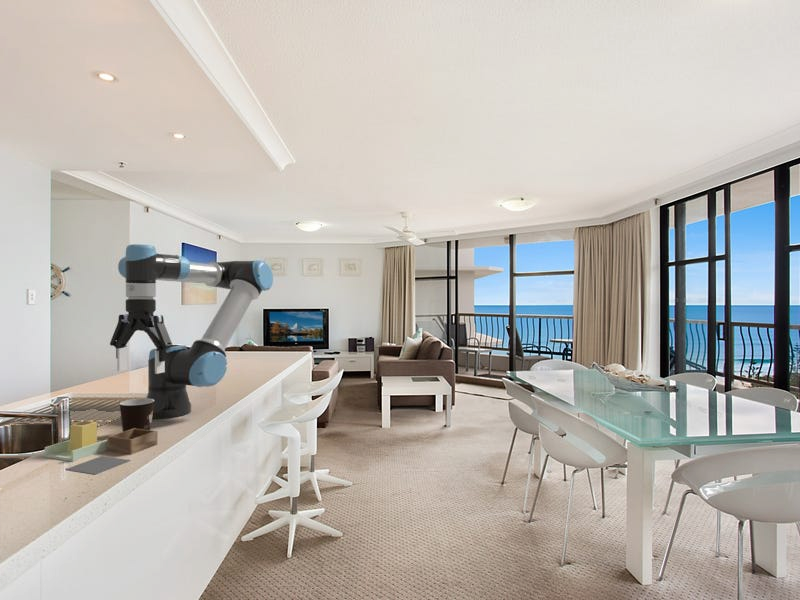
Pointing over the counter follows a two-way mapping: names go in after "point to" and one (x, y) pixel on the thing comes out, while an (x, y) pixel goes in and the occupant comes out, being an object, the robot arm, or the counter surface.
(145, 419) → the coffee mug
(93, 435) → the yellow block
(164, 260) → the robot arm
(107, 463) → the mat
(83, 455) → the sage tray
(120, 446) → the walnut box
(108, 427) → the counter surface
